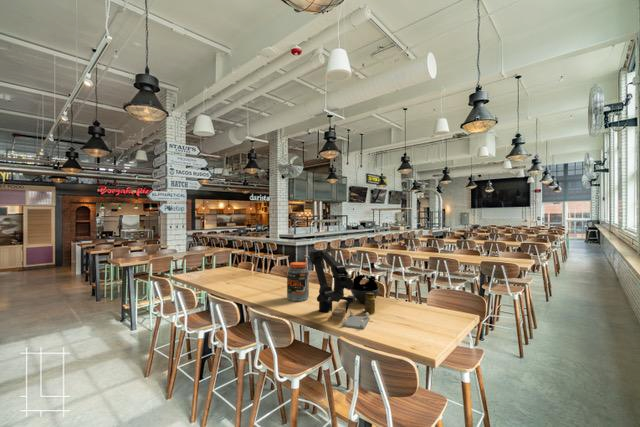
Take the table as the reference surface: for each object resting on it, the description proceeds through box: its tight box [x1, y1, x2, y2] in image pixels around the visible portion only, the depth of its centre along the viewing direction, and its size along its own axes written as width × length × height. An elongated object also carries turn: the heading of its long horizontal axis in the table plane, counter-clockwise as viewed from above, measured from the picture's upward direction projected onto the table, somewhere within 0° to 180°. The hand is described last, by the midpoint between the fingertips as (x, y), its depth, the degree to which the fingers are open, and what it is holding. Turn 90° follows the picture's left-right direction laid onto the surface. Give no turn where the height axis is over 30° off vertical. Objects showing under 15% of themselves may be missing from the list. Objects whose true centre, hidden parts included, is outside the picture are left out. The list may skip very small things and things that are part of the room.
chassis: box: [342, 310, 371, 330], centre depth 168 cm, size 16×12×4 cm
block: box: [331, 306, 347, 321], centre depth 177 cm, size 10×6×4 cm, turn 163°
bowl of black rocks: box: [350, 274, 380, 304], centre depth 208 cm, size 20×20×19 cm
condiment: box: [360, 292, 378, 316], centre depth 185 cm, size 7×8×12 cm
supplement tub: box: [286, 261, 310, 302], centre depth 215 cm, size 16×16×26 cm
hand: (338, 312), depth 177 cm, fingers open, 9 cm apart
